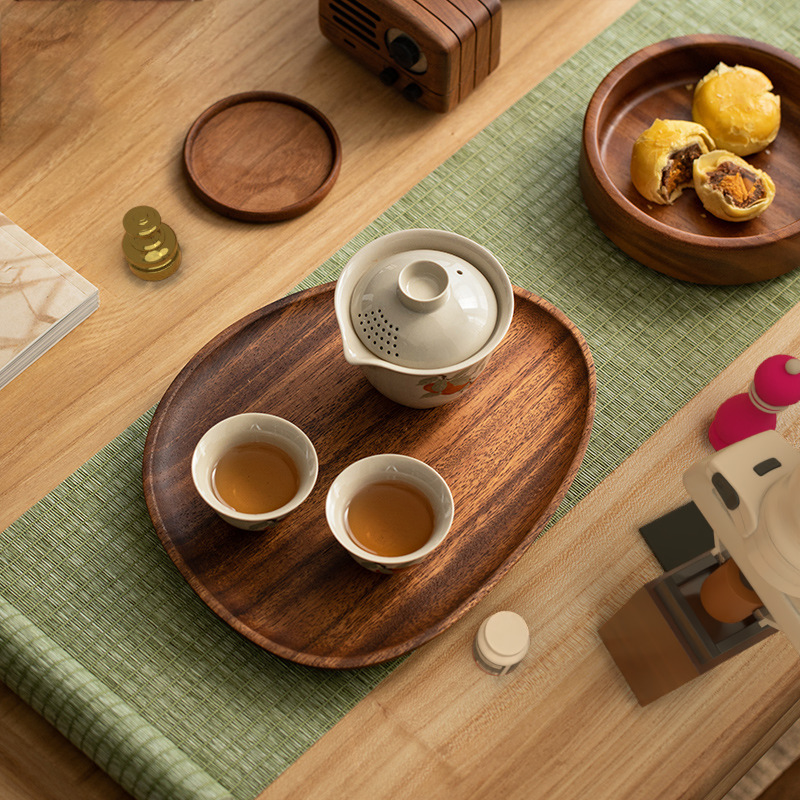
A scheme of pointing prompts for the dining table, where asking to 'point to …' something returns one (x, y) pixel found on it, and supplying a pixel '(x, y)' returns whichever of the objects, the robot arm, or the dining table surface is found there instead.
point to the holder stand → (674, 632)
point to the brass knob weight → (149, 244)
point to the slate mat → (679, 536)
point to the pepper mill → (758, 402)
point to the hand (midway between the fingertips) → (741, 585)
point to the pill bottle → (501, 643)
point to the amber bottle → (729, 594)
